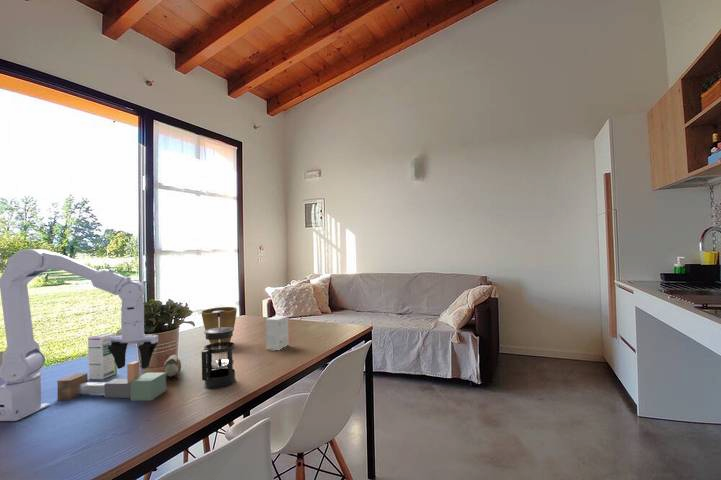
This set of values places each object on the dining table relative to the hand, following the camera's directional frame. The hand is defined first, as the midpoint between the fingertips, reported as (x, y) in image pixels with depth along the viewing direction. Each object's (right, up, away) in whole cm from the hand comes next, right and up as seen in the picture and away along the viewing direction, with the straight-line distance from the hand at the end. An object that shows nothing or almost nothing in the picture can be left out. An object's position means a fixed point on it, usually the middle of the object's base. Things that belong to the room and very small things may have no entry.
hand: (133, 367), depth 106 cm
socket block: (+5, -8, -1) cm, 10 cm away
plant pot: (+4, -10, +55) cm, 56 cm away
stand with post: (-1, -8, 0) cm, 8 cm away
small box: (+32, -9, +47) cm, 58 cm away
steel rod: (-10, -8, +1) cm, 13 cm away
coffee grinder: (+23, -8, +7) cm, 25 cm away
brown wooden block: (-19, -9, +1) cm, 21 cm away
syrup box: (-22, -10, +18) cm, 29 cm away
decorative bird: (+3, -9, +16) cm, 19 cm away
